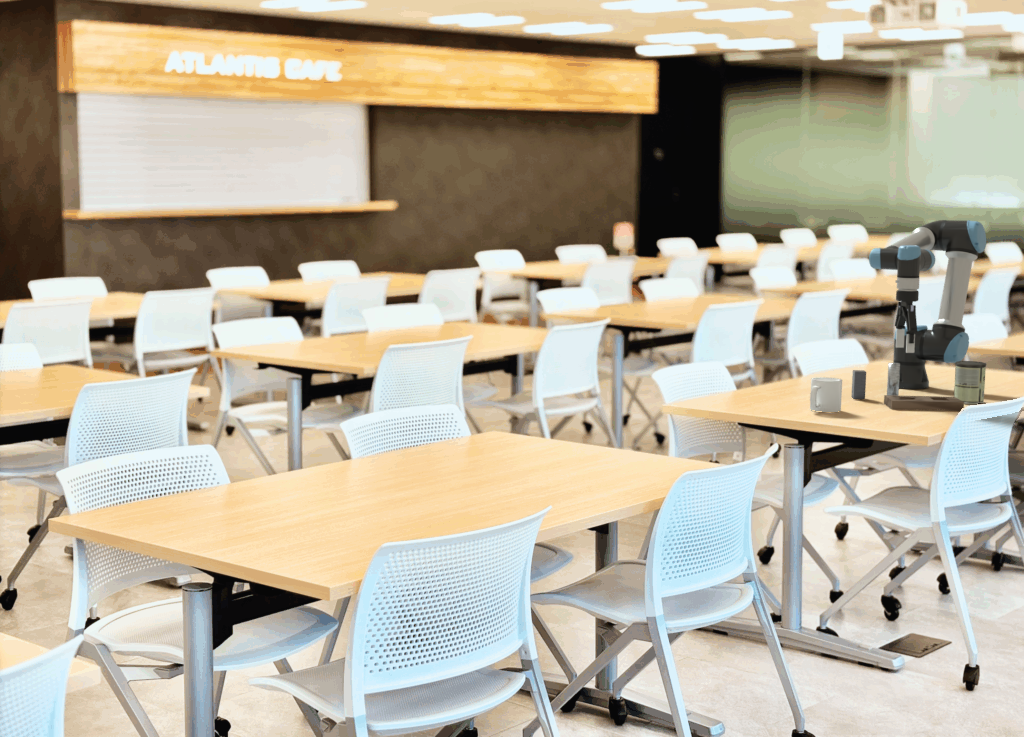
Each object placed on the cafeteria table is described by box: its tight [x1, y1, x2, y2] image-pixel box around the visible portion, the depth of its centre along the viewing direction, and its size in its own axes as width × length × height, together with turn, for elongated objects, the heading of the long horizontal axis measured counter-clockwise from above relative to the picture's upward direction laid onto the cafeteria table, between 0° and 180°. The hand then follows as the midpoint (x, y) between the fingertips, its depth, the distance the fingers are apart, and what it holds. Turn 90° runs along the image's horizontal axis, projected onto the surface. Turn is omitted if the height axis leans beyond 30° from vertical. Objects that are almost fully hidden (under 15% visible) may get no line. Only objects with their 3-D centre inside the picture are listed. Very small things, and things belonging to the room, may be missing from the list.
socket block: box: [883, 394, 965, 412], centre depth 454 cm, size 12×24×3 cm, turn 86°
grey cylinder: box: [886, 362, 900, 396], centre depth 470 cm, size 4×4×13 cm
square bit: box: [851, 369, 867, 400], centre depth 471 cm, size 4×4×10 cm
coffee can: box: [953, 360, 987, 405], centre depth 466 cm, size 10×10×14 cm
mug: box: [809, 376, 843, 412], centre depth 443 cm, size 14×10×11 cm
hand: (904, 350), depth 465 cm, fingers open, 13 cm apart
